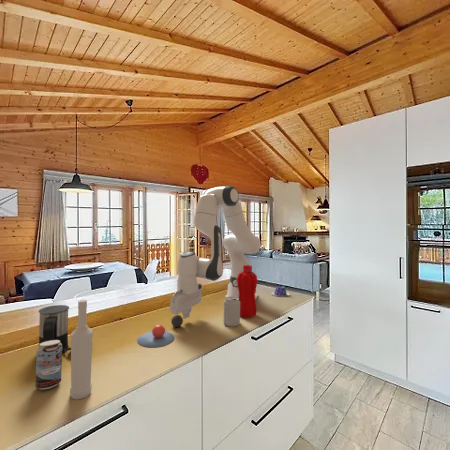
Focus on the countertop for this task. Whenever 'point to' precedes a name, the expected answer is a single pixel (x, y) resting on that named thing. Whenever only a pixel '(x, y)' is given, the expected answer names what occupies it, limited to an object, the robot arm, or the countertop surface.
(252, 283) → the water bottle
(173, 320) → the dark grey ball
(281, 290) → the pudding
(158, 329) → the object ball
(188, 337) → the countertop surface
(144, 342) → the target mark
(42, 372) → the beverage can
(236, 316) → the can
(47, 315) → the milk frother
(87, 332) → the bottle
